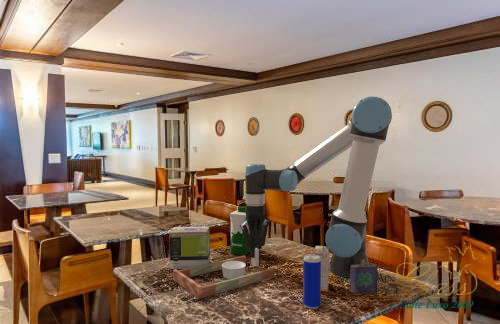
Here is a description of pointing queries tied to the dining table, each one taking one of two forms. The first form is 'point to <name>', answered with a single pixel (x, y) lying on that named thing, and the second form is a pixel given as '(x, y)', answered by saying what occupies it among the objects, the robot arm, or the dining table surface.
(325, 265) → the supplement box
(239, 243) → the milk carton
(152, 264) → the dining table surface
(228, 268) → the ramekin
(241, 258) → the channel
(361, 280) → the flask
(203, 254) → the tea box
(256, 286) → the dining table surface
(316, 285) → the beverage can
